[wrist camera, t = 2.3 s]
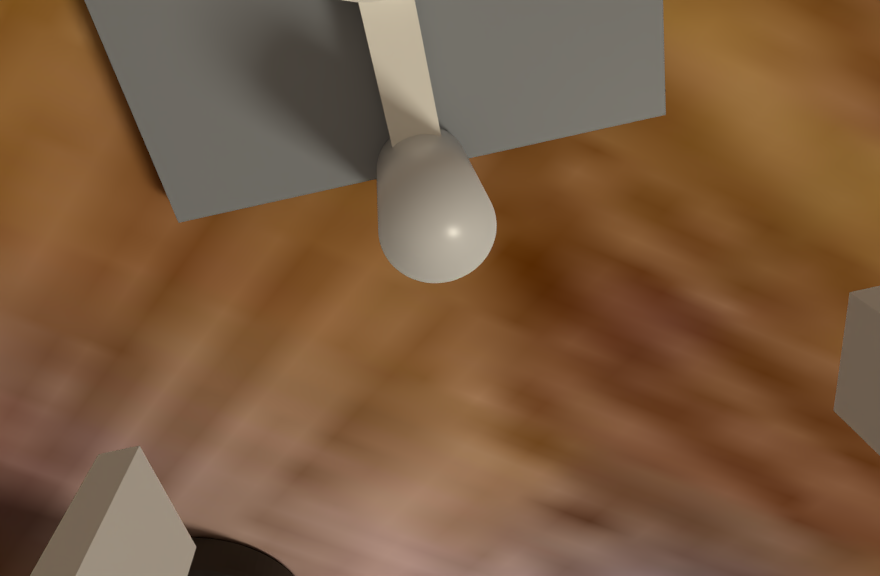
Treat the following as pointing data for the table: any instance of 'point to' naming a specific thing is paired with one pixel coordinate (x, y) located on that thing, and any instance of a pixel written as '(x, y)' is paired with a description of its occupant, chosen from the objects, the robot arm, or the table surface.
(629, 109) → the lock base
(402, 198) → the locking lever
